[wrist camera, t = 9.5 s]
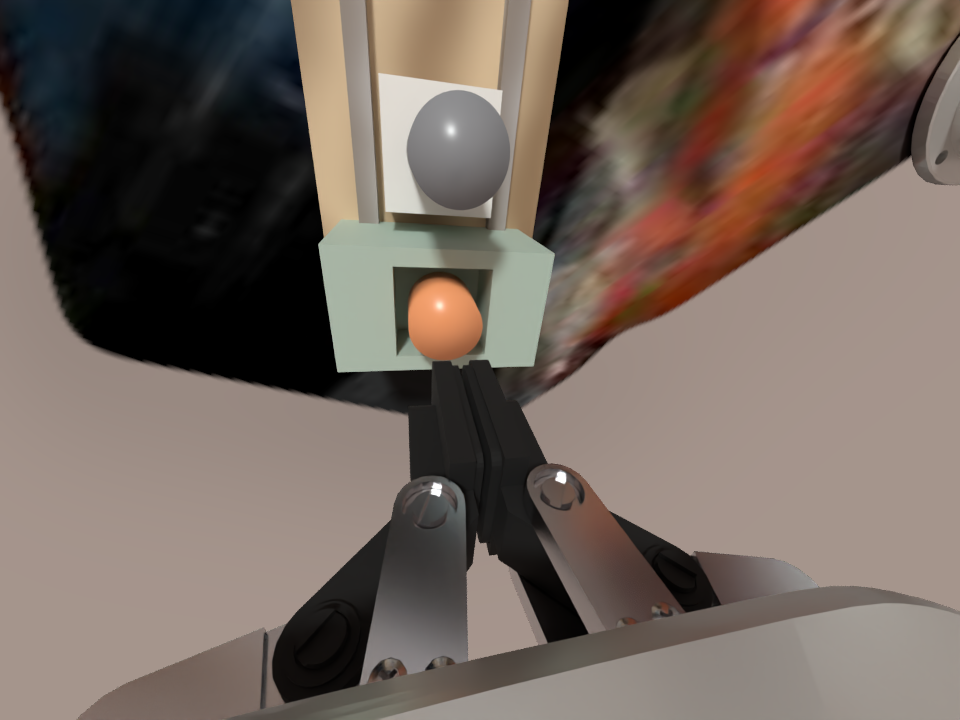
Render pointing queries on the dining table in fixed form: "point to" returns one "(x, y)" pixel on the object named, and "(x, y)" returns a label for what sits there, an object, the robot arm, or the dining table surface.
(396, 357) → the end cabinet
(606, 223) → the dining table surface
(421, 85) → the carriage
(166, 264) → the dining table surface
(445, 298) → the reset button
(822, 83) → the dining table surface
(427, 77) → the track
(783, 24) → the dining table surface
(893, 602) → the robot arm
